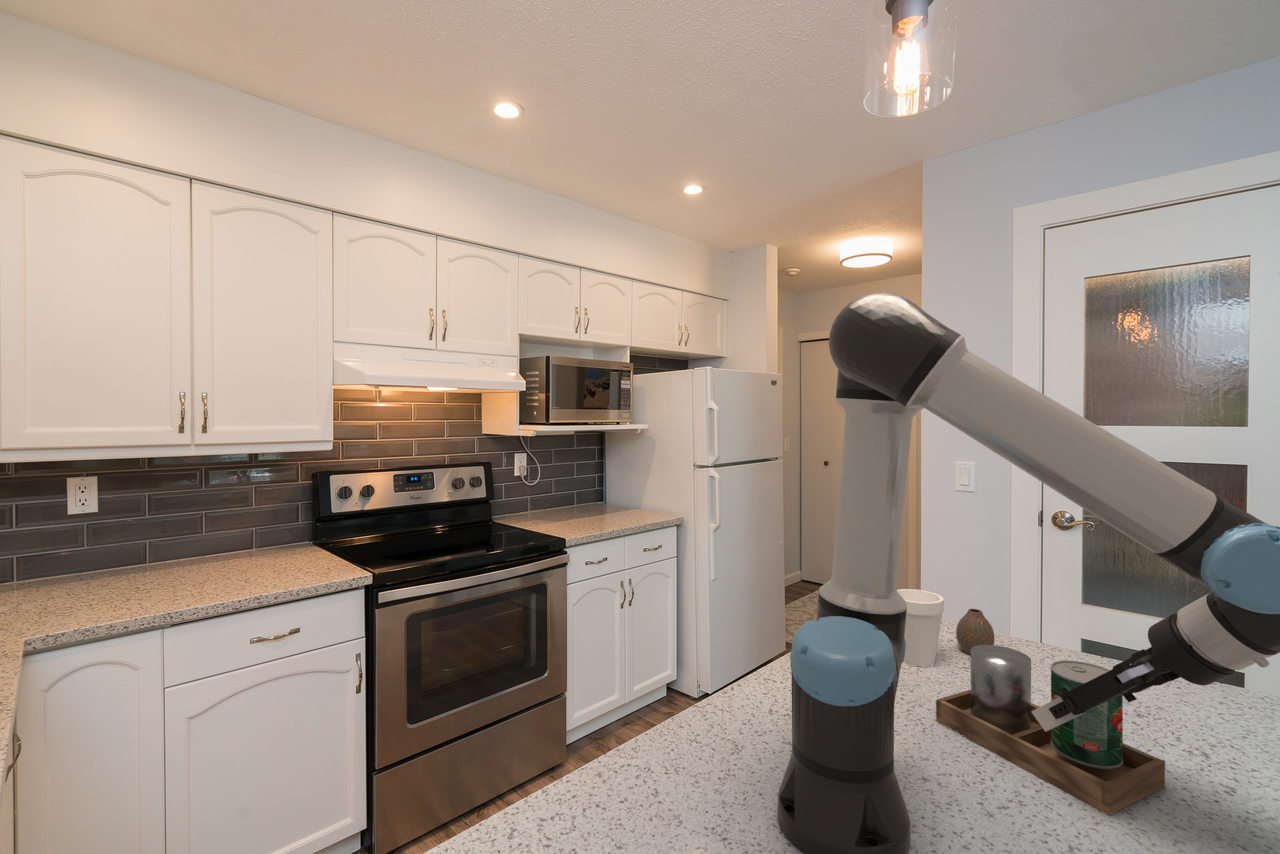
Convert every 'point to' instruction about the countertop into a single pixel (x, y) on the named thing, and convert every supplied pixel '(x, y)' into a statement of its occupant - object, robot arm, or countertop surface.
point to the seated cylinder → (1001, 687)
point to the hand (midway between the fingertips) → (1058, 714)
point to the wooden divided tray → (1058, 759)
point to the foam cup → (922, 626)
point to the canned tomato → (1088, 720)
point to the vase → (974, 630)
